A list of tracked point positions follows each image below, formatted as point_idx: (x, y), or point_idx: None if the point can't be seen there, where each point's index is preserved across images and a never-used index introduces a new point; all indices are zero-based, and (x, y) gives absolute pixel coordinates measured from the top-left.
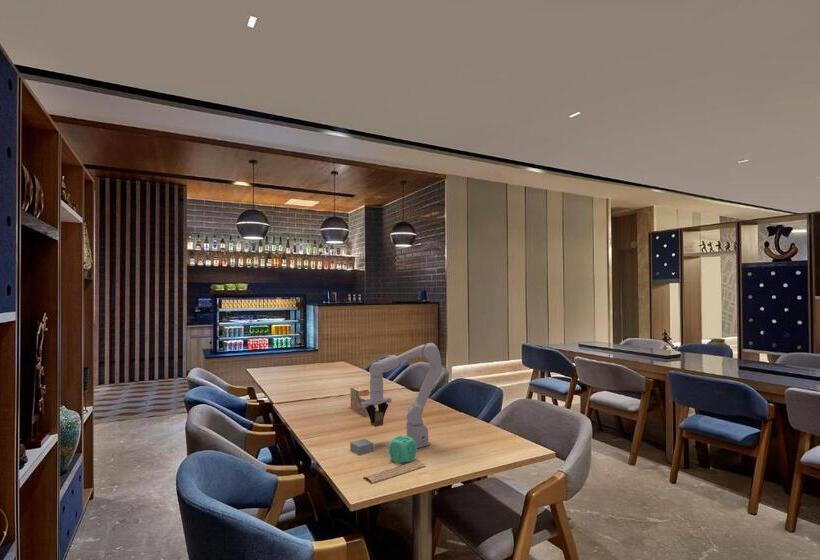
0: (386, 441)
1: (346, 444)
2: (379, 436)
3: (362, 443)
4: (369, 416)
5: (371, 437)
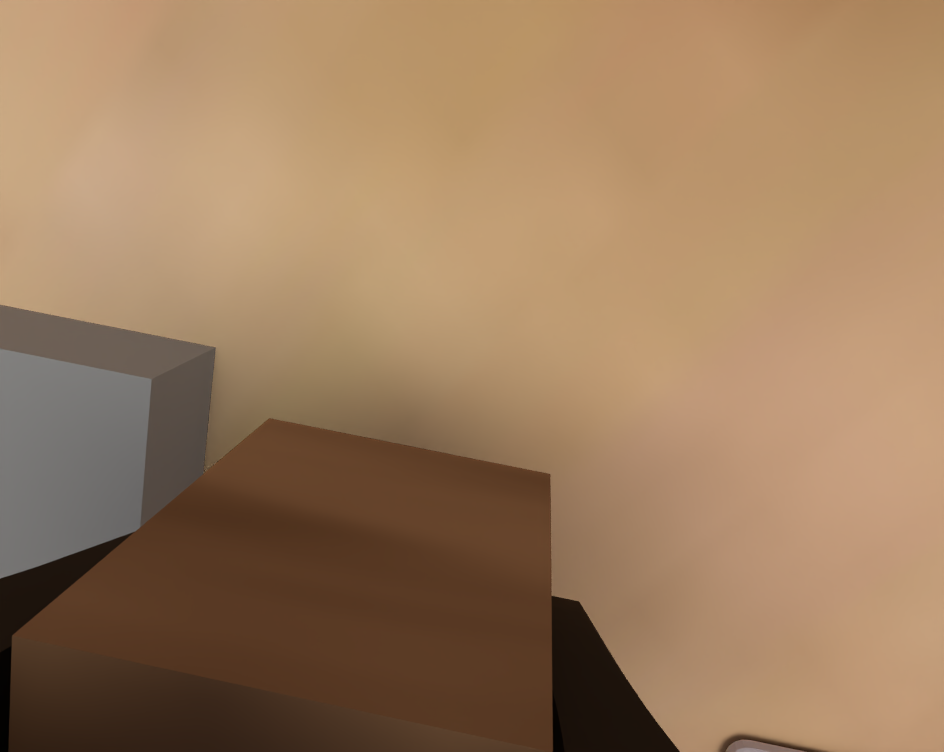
0: (637, 472)
1: (38, 7)
2: (780, 162)
3: None
4: (15, 593)
5: (630, 75)
